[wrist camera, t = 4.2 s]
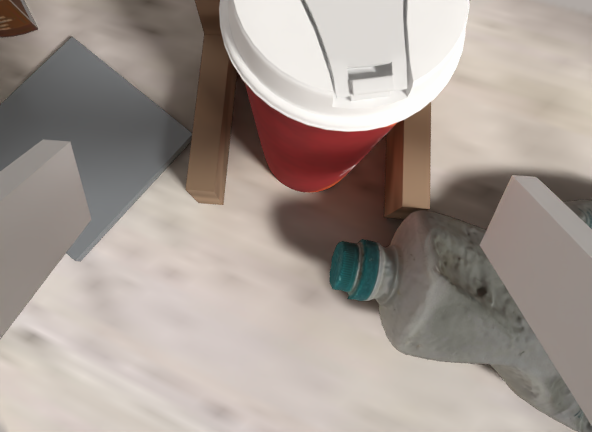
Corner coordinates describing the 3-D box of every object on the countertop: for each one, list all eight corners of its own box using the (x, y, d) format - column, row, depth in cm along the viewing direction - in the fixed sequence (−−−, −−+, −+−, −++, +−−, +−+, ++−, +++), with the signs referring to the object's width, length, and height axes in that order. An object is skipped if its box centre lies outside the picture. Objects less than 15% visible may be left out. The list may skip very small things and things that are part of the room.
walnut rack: (407, 219, 24) (537, 159, 12) (198, 202, 23) (120, 123, 12) (410, 65, 26) (525, -117, 14) (216, 46, 25) (164, -160, 13)
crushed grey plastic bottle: (717, 231, 25) (346, 150, 24) (894, 225, 18) (376, 109, 17) (696, 438, 24) (304, 362, 23) (876, 519, 17) (318, 414, 16)
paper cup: (378, 200, 24) (518, 92, 10) (257, 218, 23) (232, 129, 10) (355, 85, 25) (452, -148, 12) (239, 100, 25) (195, -129, 11)
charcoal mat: (194, 137, 24) (192, 133, 23) (80, 261, 22) (75, 260, 22) (76, 42, 25) (72, 36, 24) (-43, 156, 23) (-51, 152, 22)
